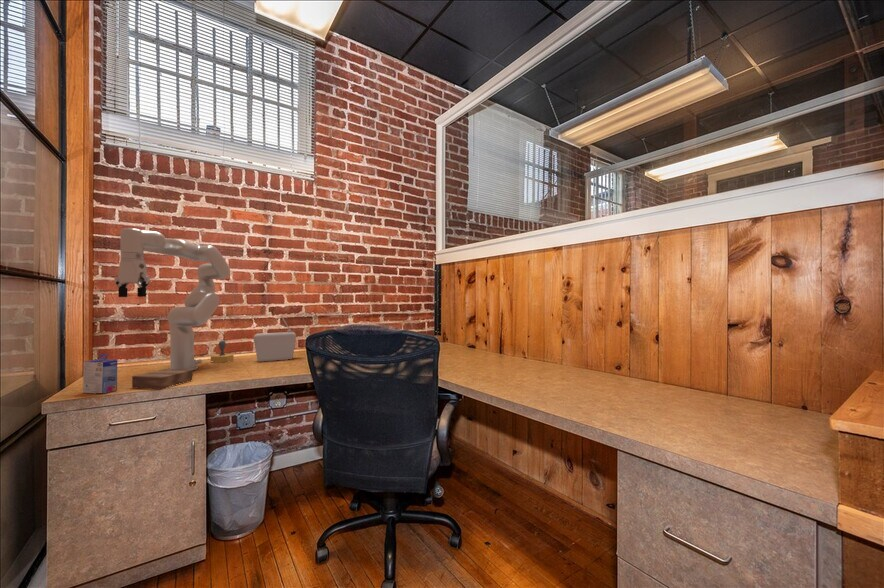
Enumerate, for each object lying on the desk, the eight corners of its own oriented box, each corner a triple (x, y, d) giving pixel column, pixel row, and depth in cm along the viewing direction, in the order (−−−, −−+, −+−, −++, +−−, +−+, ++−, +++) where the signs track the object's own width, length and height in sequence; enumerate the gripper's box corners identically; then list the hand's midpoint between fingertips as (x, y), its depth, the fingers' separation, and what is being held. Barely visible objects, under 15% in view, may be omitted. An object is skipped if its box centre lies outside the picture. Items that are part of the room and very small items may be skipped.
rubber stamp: (233, 360, 201) (233, 339, 201) (227, 362, 196) (226, 341, 196) (217, 360, 202) (217, 339, 202) (210, 362, 196) (210, 341, 196)
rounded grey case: (295, 357, 212) (295, 315, 212) (296, 359, 204) (296, 316, 204) (254, 360, 202) (254, 316, 202) (253, 362, 194) (253, 317, 195)
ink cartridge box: (118, 390, 138) (118, 353, 138) (102, 394, 133) (102, 356, 133) (98, 389, 140) (98, 353, 140) (82, 393, 135) (82, 355, 135)
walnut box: (165, 380, 156) (165, 369, 156) (192, 381, 153) (192, 370, 153) (132, 388, 142) (132, 376, 142) (161, 390, 140) (161, 377, 140)
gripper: (157, 257, 154) (157, 296, 154) (124, 258, 157) (125, 297, 157) (140, 255, 147) (140, 296, 147) (106, 256, 150) (106, 297, 150)
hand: (132, 296), depth 152 cm, fingers open, 9 cm apart
